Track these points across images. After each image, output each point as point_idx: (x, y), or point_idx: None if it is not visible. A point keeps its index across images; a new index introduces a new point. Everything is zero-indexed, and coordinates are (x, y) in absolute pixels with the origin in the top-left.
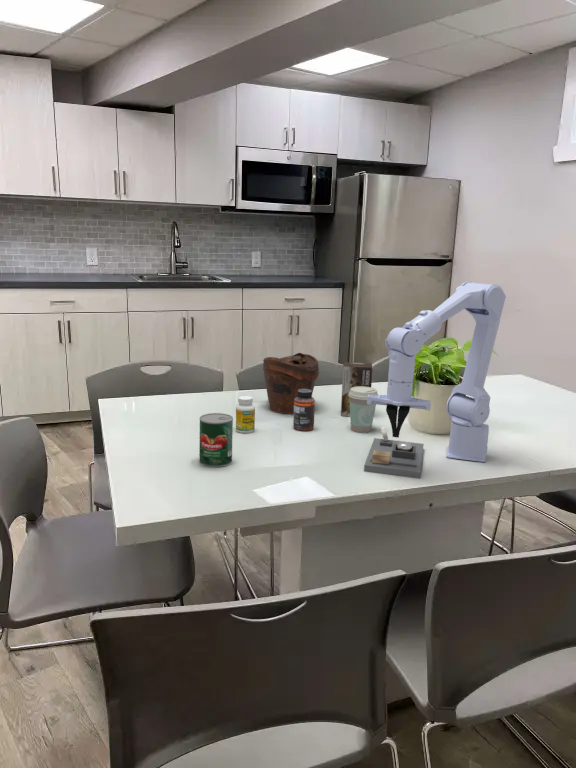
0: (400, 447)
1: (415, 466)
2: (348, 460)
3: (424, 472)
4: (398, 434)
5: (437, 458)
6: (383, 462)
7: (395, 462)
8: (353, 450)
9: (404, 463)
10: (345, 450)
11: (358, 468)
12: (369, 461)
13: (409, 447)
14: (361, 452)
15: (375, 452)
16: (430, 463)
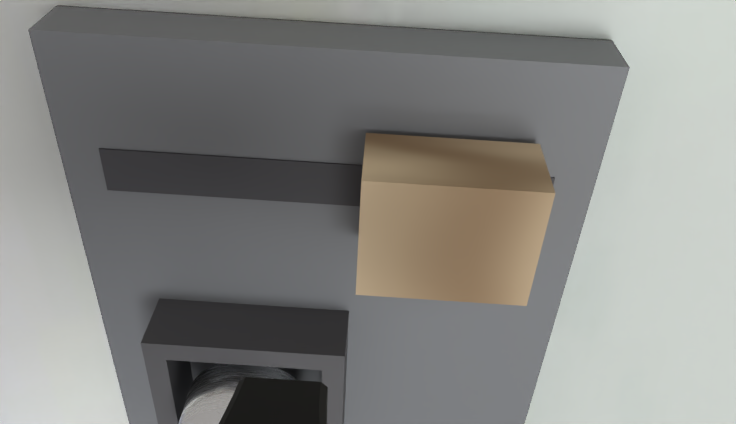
0: None
1: (112, 162)
2: (719, 246)
3: (59, 157)
4: (229, 411)
5: (47, 406)
6: (422, 145)
7: (308, 211)
8: (639, 416)
9: (225, 208)
10: (702, 407)
11: (657, 96)
12: (559, 176)
13: (192, 406)
14: (581, 398)
15: (516, 255)
16: (66, 327)
